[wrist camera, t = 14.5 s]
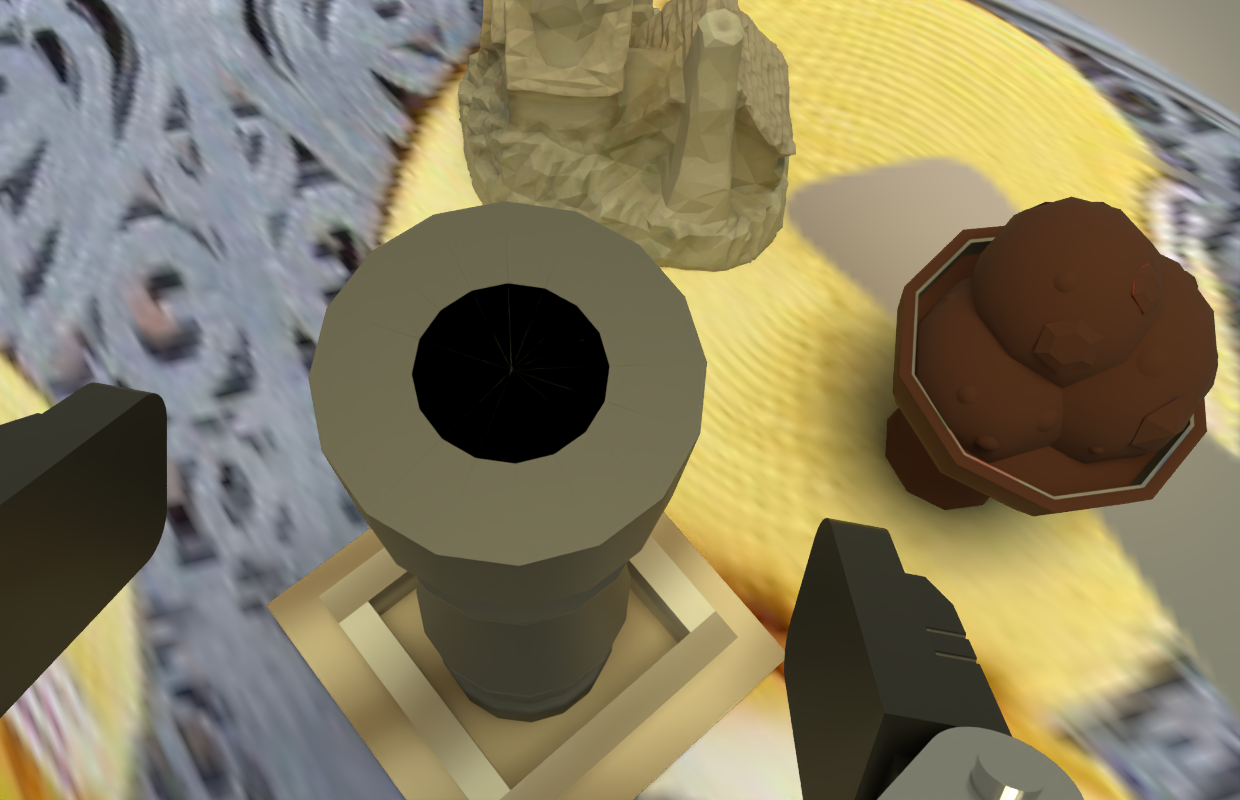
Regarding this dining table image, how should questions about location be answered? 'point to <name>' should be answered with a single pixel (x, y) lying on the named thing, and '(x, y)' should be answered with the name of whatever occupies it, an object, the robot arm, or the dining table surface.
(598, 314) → the candle holder
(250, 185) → the dining table surface
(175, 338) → the dining table surface
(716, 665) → the socket base
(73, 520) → the robot arm
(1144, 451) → the ice cream bowl
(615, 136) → the ceramic cottage
